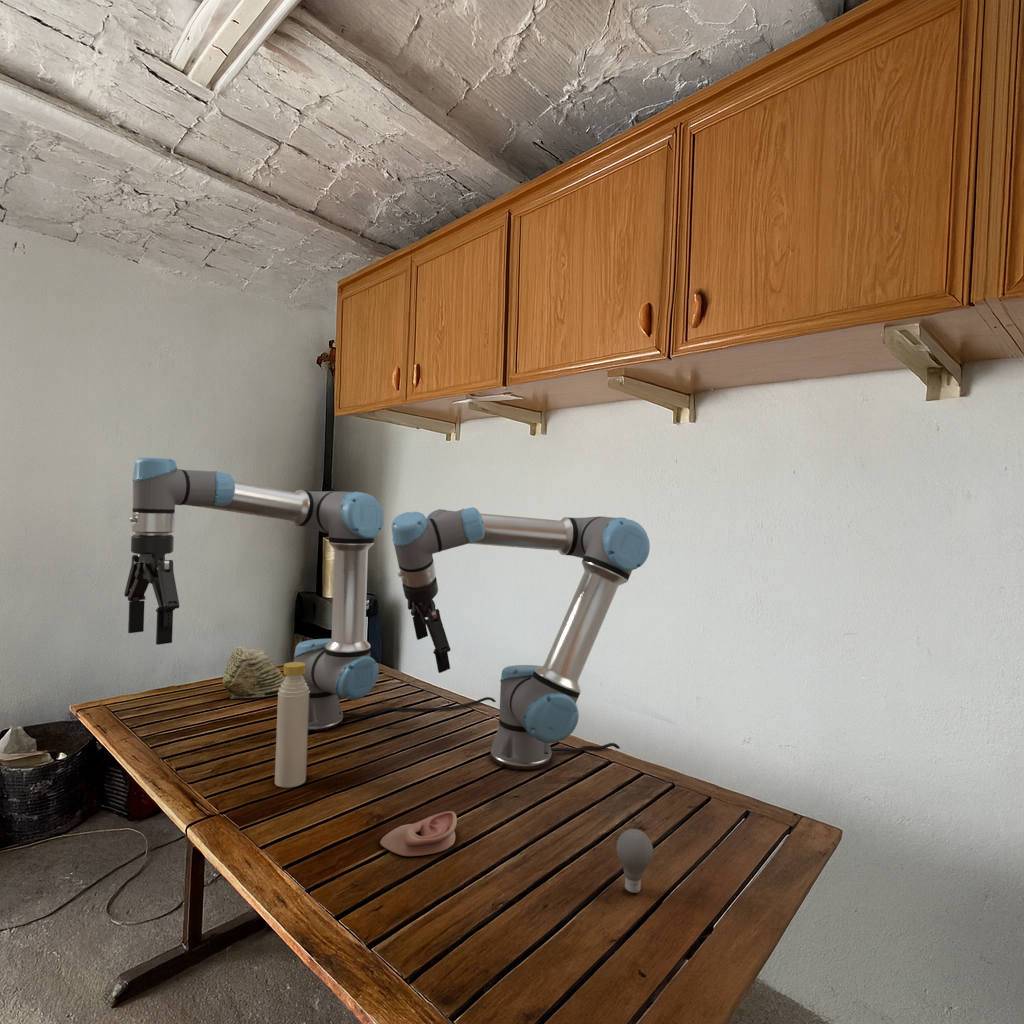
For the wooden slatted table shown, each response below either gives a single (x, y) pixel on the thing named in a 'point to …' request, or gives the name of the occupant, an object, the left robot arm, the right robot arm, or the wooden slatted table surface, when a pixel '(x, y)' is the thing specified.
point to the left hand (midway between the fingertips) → (149, 637)
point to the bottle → (292, 732)
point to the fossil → (251, 674)
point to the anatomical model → (422, 836)
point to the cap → (294, 668)
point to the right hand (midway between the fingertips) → (432, 653)
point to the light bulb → (634, 857)
